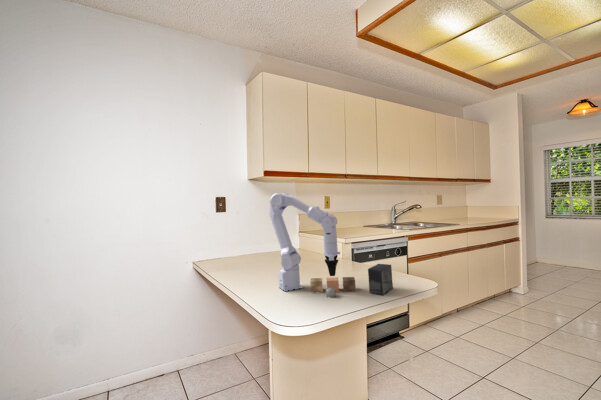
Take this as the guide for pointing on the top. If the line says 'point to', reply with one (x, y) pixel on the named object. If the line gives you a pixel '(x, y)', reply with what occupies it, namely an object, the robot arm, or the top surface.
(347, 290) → the walnut block
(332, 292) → the grey tin
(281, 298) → the top surface
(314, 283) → the oak block
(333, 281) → the terracotta block
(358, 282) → the top surface
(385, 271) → the small box
